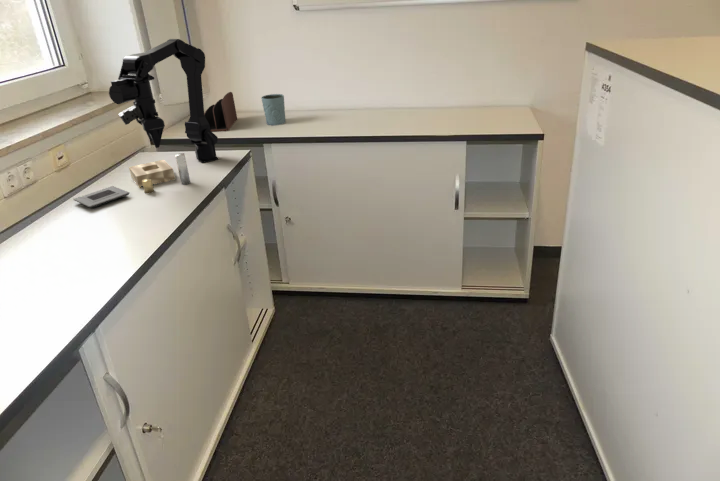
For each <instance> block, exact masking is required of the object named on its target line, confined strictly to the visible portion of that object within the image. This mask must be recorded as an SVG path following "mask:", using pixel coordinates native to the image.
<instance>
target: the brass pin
mask: <svg viewBox="0 0 720 481" xmlns="http://www.w3.org/2000/svg"><path fill="white" fill-rule="evenodd" d="M142 184H143V187H142V188H143V191H144V194H146V193H149V194H153V193H154V192H155V189H154V185H153V183H152V179H144V180H142ZM152 192H153V193H152Z"/></svg>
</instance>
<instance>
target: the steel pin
mask: <svg viewBox="0 0 720 481" xmlns="http://www.w3.org/2000/svg"><path fill="white" fill-rule="evenodd" d="M174 156H175V160H176V165H177V169H178V174H179V179H180V183H181V185H182V186H183V185H186V186H187V185H189V184H191V183H192V182H191V177H190V172H189V169H188V164H187V160H186V159H187V158H186V154H185V152H179V153H176V154H174Z"/></svg>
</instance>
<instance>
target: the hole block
mask: <svg viewBox="0 0 720 481" xmlns="http://www.w3.org/2000/svg"><path fill="white" fill-rule="evenodd" d="M128 169H129V173H130V177H131V179H132V178H133V179H132V180H133V182H134V181H135V182H136V183H135V182H134V183H135V184H136V186H137V185H138V186H139V187H141V186H143V184H142V180H144V179H152V183H153V184H154V185H158V184H162V183H166V182H170V180H171V181H174V179H175V180H176V177H175V173H174V168H173V167H172V166H171V165H170V164H169V163H168V162H167V161H166V160H165V159H161V160H157V161H151V162H146V163H142V164H137V165H136V164H135V165H133V166H129V167H128ZM161 182H162V183H161ZM157 183H158V184H157ZM138 186H137V187H138ZM139 187H138V188H139ZM141 188H142V187H141Z"/></svg>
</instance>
